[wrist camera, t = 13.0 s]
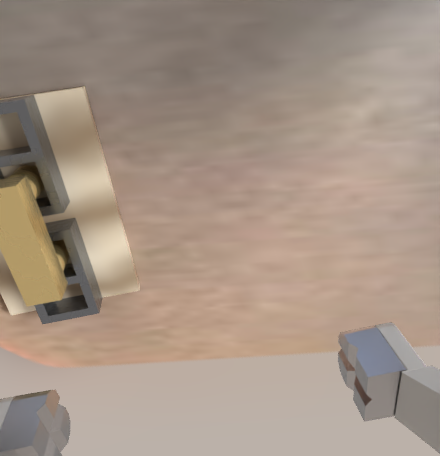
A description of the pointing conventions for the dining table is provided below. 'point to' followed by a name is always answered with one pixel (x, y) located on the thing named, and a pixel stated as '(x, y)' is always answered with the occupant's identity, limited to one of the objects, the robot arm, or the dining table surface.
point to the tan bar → (30, 239)
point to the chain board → (75, 193)
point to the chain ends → (53, 212)
